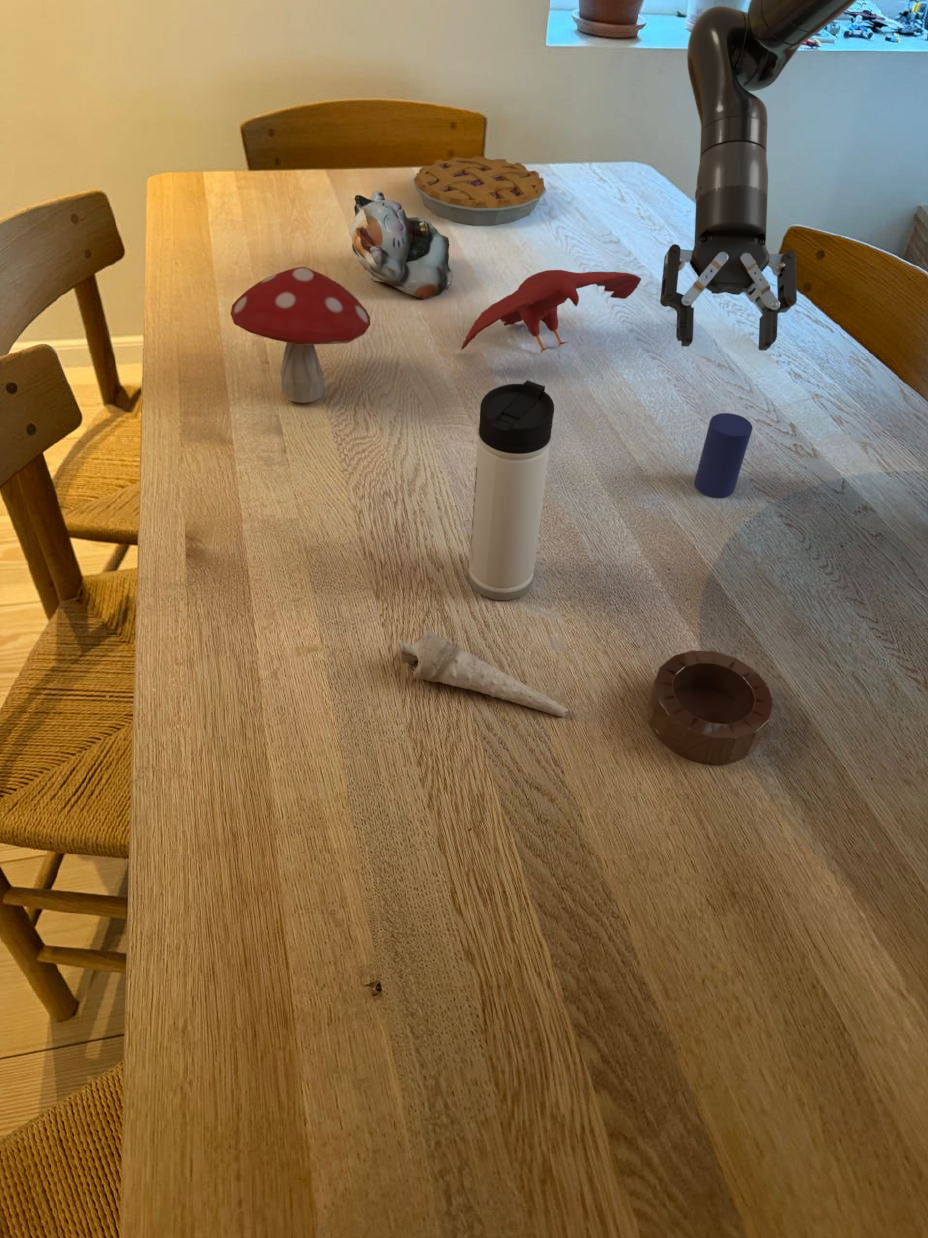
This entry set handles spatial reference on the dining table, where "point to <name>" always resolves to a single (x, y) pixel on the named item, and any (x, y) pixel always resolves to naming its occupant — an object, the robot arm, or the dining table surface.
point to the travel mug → (509, 488)
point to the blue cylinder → (722, 455)
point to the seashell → (469, 673)
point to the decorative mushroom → (301, 323)
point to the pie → (479, 190)
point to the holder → (709, 707)
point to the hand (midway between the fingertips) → (726, 346)
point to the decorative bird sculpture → (549, 299)
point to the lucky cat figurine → (400, 247)
